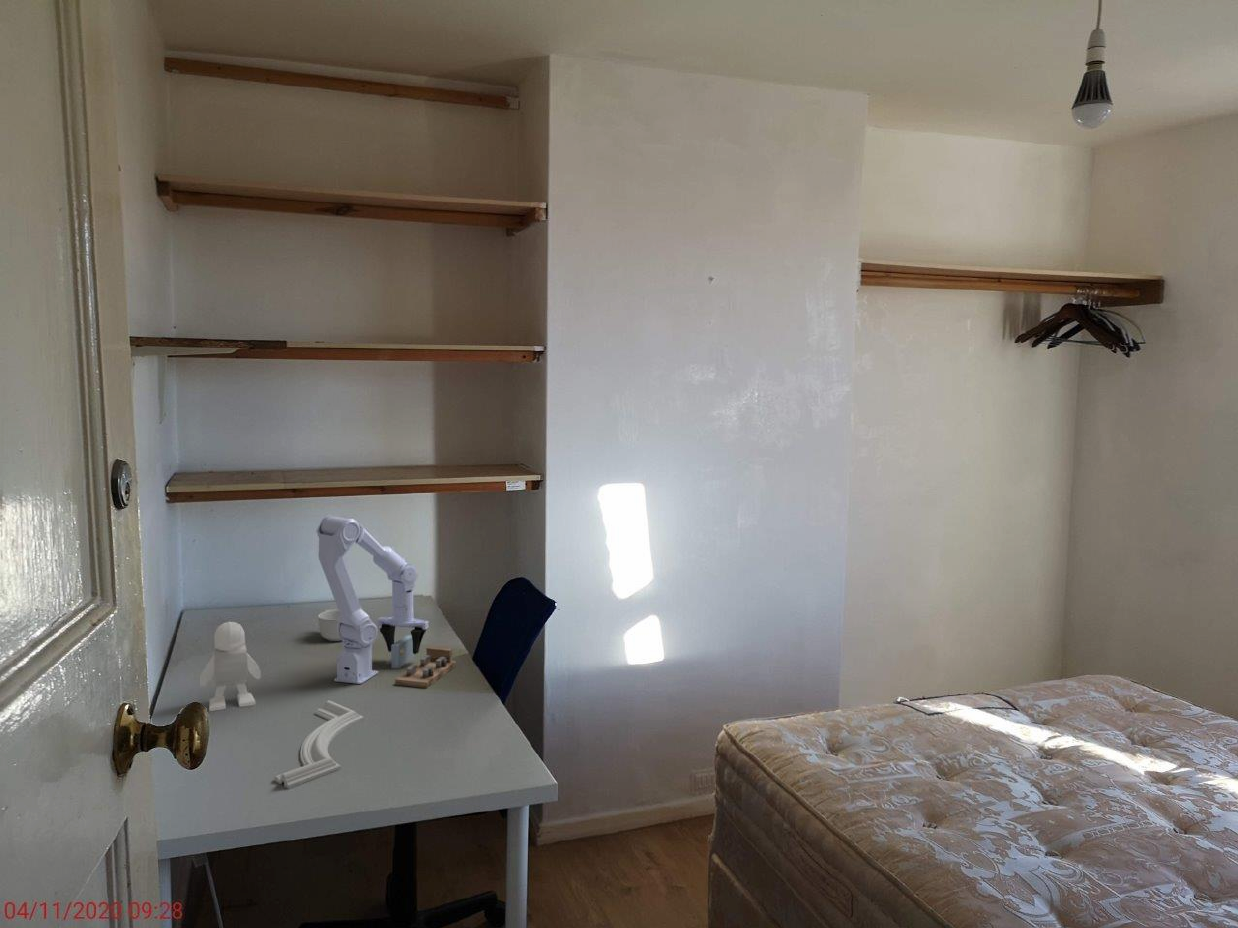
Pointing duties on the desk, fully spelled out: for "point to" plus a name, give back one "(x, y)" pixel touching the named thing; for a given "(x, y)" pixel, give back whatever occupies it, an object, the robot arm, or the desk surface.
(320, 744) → the molding
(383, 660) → the desk surface
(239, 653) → the toy robot
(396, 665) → the rectangular block
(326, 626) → the teacup
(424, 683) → the knife switch board
